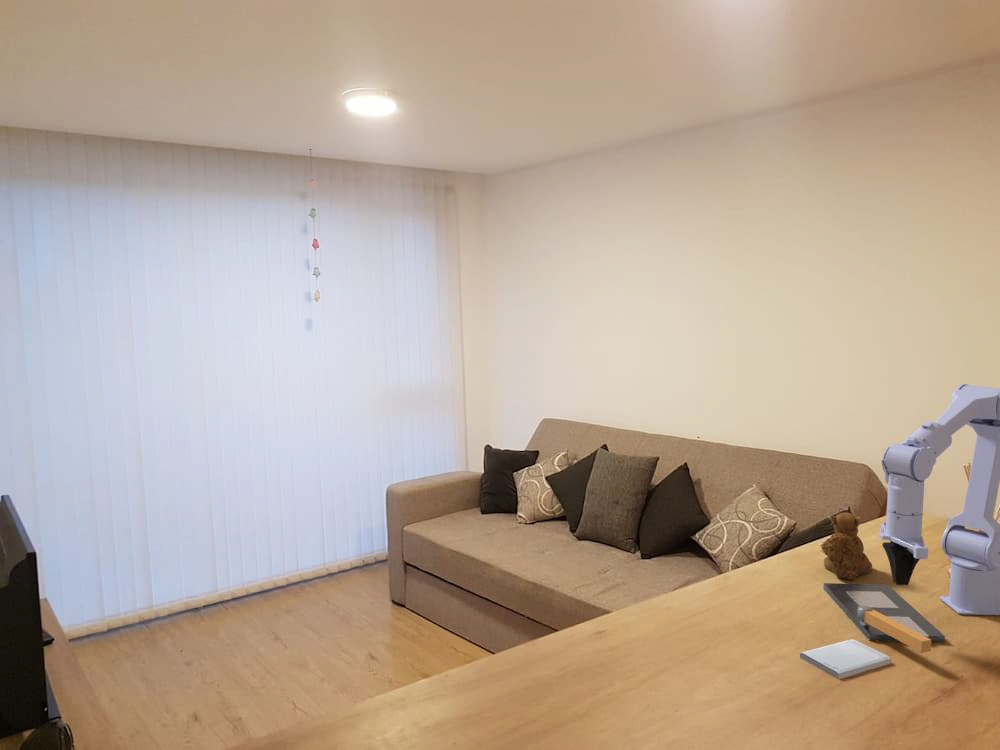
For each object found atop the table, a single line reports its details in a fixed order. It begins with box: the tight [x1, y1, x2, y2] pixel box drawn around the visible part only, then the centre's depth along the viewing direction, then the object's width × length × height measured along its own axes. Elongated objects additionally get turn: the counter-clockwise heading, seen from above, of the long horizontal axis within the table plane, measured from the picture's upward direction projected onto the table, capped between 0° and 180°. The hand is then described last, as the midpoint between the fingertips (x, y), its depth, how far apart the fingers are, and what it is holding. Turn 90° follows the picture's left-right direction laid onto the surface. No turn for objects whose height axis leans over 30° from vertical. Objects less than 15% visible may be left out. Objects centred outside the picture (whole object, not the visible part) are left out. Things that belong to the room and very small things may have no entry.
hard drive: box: [799, 638, 892, 680], centre depth 129 cm, size 2×8×12 cm
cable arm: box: [857, 606, 932, 654], centre depth 134 cm, size 15×3×2 cm, turn 17°
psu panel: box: [823, 582, 946, 643], centre depth 147 cm, size 13×24×2 cm, turn 176°
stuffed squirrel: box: [819, 511, 873, 581], centre depth 168 cm, size 10×14×13 cm
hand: (900, 583), depth 138 cm, fingers closed
